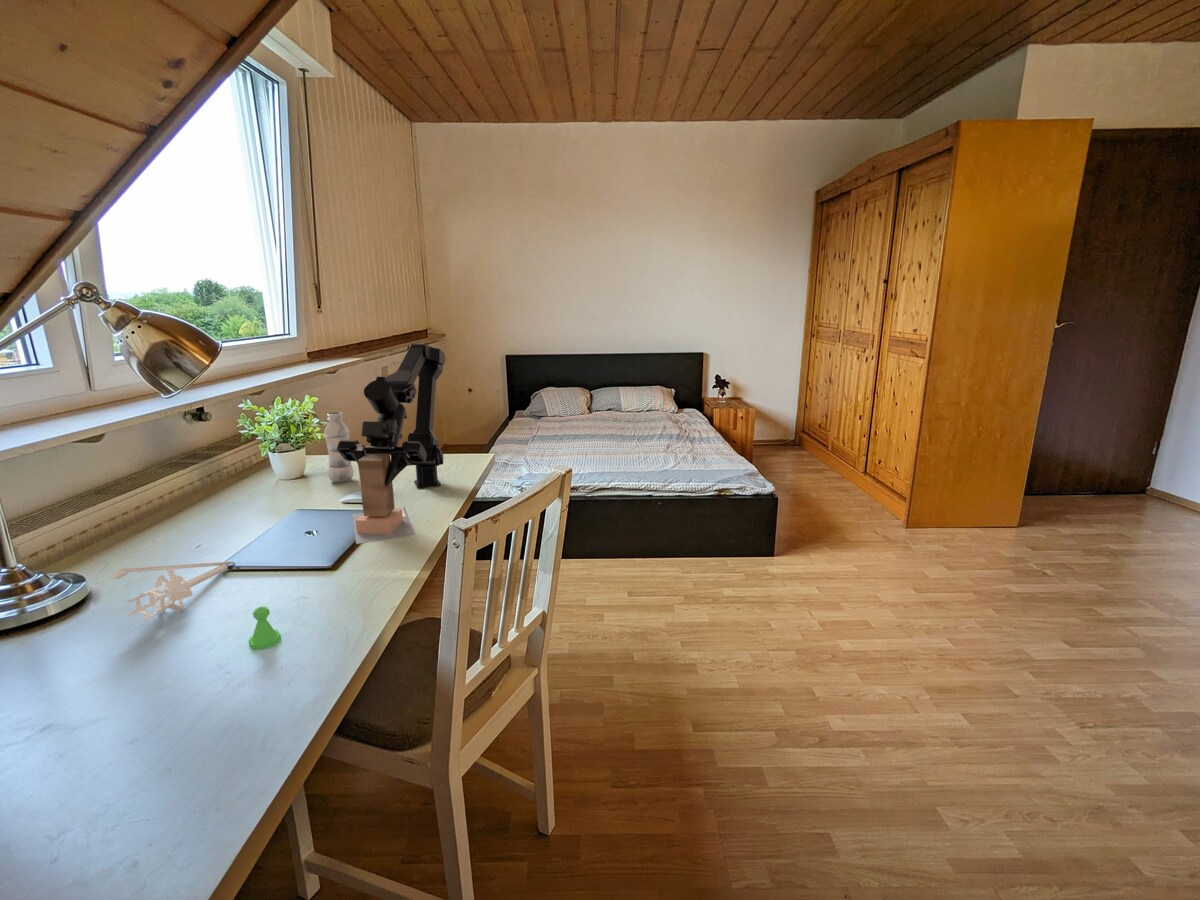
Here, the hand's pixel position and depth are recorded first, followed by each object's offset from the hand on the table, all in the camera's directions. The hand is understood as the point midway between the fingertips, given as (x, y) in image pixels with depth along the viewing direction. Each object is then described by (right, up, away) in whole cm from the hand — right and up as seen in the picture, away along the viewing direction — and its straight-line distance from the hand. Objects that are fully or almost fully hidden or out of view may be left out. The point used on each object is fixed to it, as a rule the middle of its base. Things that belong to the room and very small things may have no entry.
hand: (374, 484), depth 123 cm
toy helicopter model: (-22, -18, -25) cm, 38 cm away
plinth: (0, -10, +4) cm, 11 cm away
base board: (0, -10, +6) cm, 12 cm away
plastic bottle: (-24, -2, +37) cm, 45 cm away
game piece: (-2, -22, -37) cm, 43 cm away
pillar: (0, -6, +3) cm, 7 cm away
